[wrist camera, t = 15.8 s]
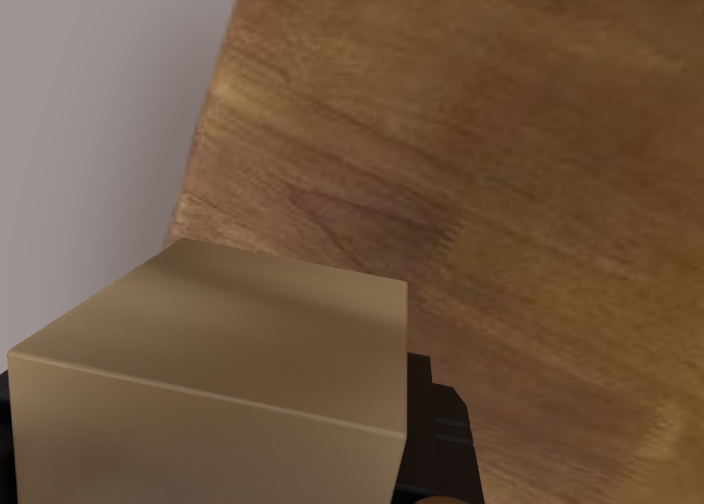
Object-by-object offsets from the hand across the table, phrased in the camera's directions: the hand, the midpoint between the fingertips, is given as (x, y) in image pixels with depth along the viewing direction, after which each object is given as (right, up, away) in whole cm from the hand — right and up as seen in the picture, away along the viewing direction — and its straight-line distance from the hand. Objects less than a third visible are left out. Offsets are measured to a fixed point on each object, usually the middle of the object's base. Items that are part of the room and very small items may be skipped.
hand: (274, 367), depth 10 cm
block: (0, 0, 0) cm, 0 cm away
